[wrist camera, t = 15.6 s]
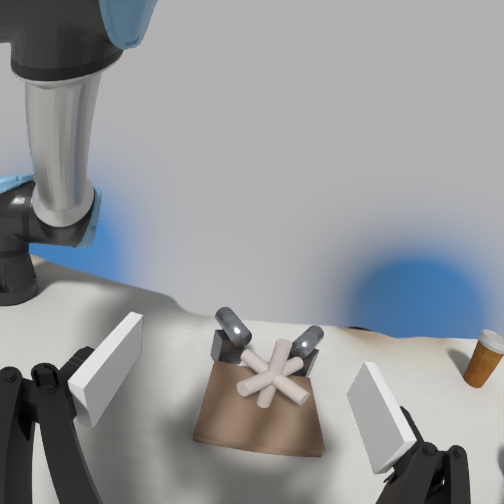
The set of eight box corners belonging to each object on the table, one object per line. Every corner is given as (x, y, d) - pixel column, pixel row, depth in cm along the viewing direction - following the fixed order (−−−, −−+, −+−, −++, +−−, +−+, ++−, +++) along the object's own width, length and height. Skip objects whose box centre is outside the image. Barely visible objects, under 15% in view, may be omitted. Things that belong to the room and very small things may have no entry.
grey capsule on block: (245, 371, 40) (256, 329, 38) (221, 374, 38) (231, 330, 36) (227, 346, 46) (236, 306, 44) (206, 348, 44) (214, 307, 42)
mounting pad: (193, 439, 25) (194, 432, 24) (213, 367, 39) (214, 360, 39) (320, 457, 25) (324, 450, 24) (306, 384, 39) (309, 377, 39)
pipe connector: (209, 393, 32) (221, 330, 29) (263, 371, 39) (280, 315, 36) (263, 443, 25) (289, 383, 22) (314, 408, 32) (341, 351, 29)
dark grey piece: (298, 387, 38) (315, 346, 37) (276, 377, 40) (290, 335, 38) (313, 368, 44) (328, 330, 43) (294, 359, 46) (307, 321, 44)
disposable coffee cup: (477, 373, 46) (498, 331, 43) (491, 392, 37) (516, 348, 34) (453, 369, 48) (475, 325, 45) (466, 390, 39) (493, 343, 36)
